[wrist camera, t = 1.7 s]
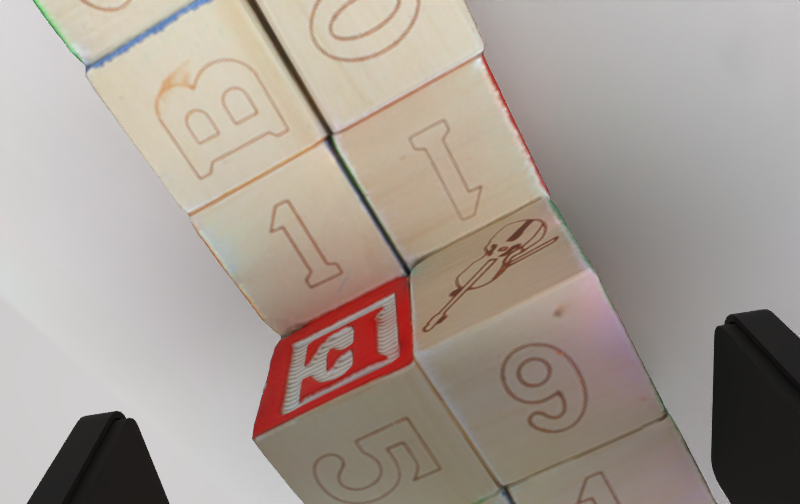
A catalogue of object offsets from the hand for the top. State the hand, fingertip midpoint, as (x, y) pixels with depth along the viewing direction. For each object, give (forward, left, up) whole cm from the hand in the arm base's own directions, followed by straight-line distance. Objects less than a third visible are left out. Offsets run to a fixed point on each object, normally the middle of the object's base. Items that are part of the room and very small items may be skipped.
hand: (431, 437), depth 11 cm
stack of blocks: (0, -1, -12) cm, 12 cm away
